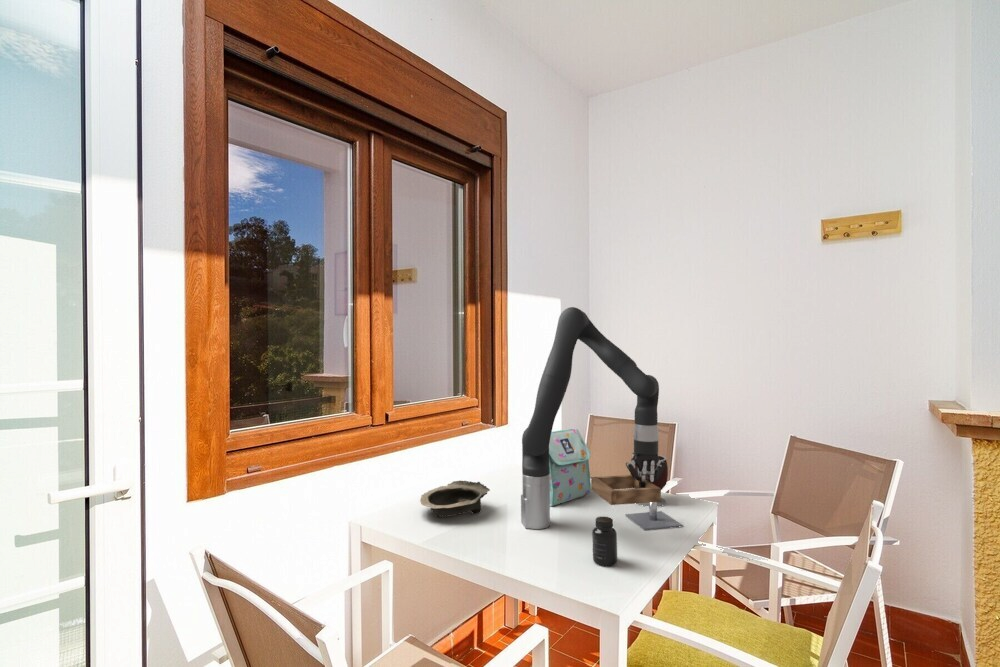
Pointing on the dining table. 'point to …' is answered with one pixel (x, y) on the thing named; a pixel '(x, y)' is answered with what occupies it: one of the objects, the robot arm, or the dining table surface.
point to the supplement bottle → (604, 542)
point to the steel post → (653, 511)
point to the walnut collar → (624, 490)
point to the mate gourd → (660, 482)
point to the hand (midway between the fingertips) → (645, 492)
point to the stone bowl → (455, 498)
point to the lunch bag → (568, 466)
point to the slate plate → (648, 524)
